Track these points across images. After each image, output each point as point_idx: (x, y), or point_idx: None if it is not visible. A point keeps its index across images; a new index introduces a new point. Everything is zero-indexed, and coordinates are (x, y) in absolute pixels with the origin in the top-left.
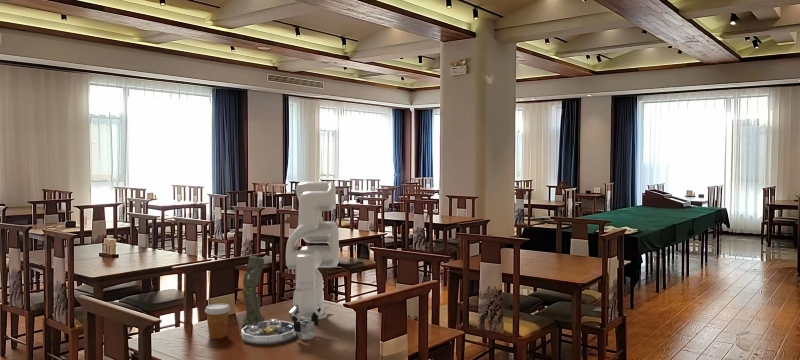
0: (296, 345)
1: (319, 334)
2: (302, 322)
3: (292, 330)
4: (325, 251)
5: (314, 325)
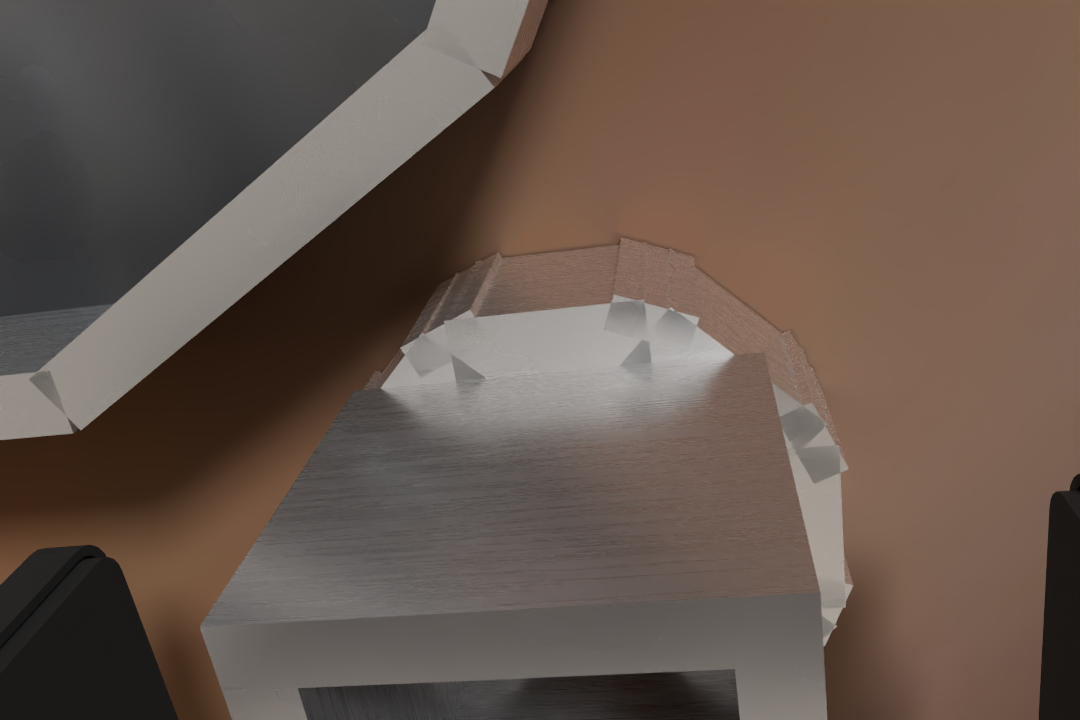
0: None
1: (1037, 542)
2: (458, 657)
3: (96, 363)
4: None
5: (1043, 635)
